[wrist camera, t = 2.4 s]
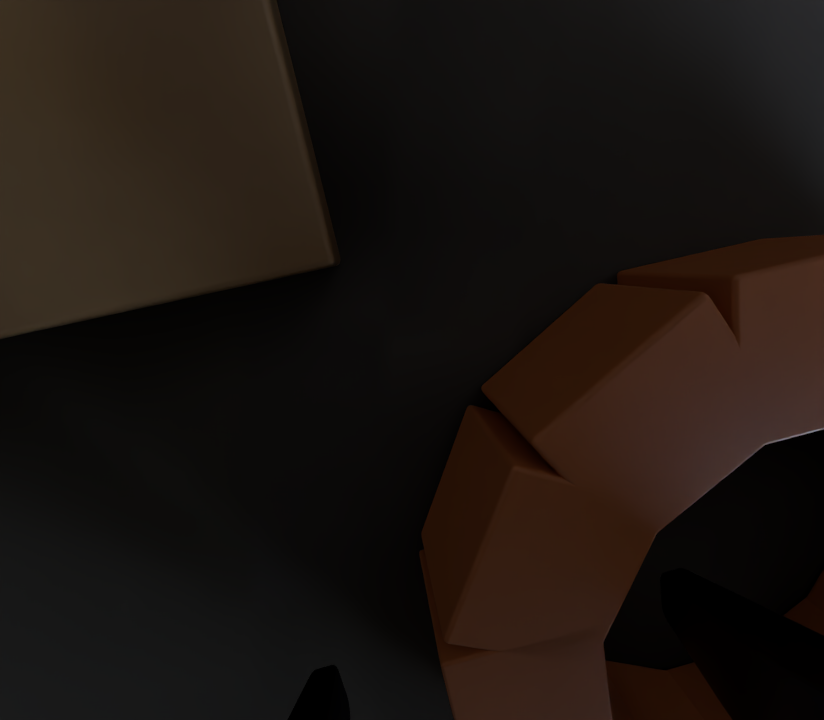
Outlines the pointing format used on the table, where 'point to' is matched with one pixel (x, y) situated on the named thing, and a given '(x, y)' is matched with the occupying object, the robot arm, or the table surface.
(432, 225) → the table surface
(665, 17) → the table surface
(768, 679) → the robot arm
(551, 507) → the ring
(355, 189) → the table surface
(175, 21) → the peg stand
